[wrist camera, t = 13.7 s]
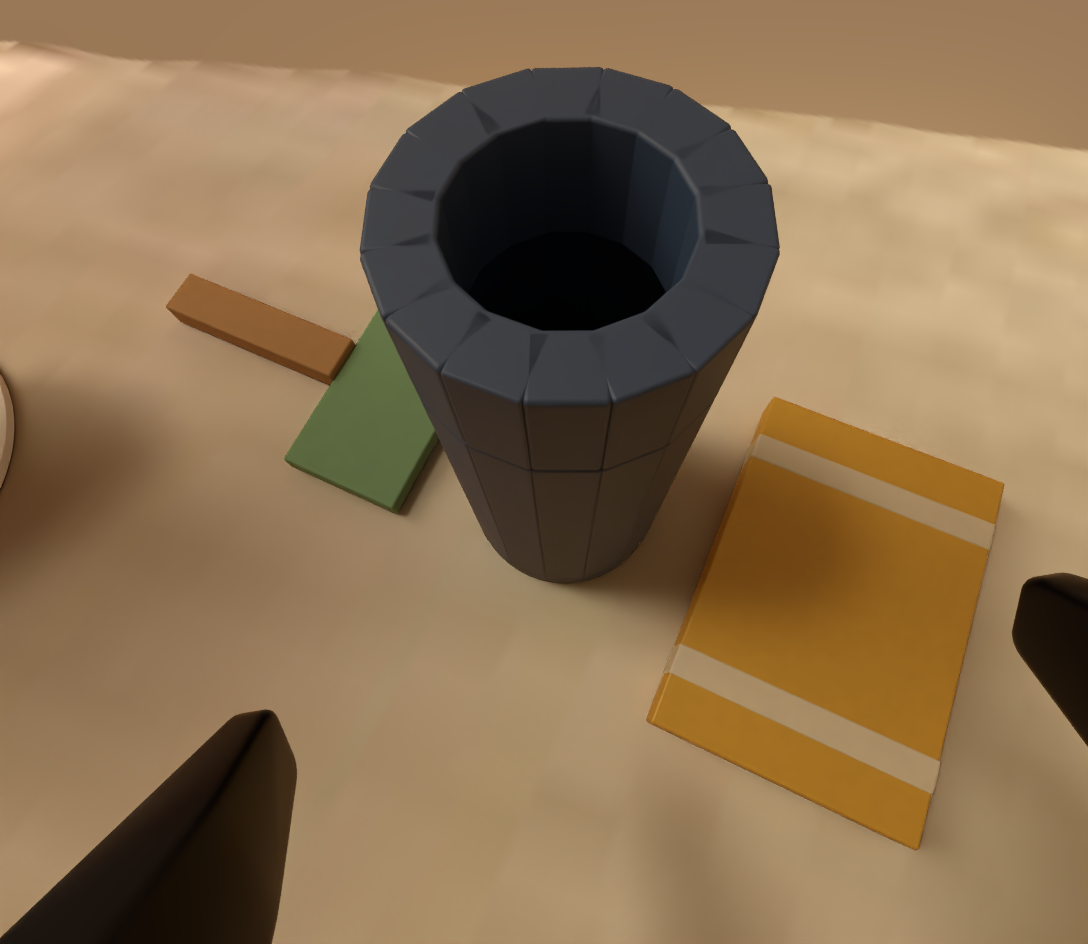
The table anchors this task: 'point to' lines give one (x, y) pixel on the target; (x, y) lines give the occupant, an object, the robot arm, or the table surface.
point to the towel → (834, 618)
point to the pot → (568, 297)
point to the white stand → (5, 429)
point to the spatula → (330, 391)
